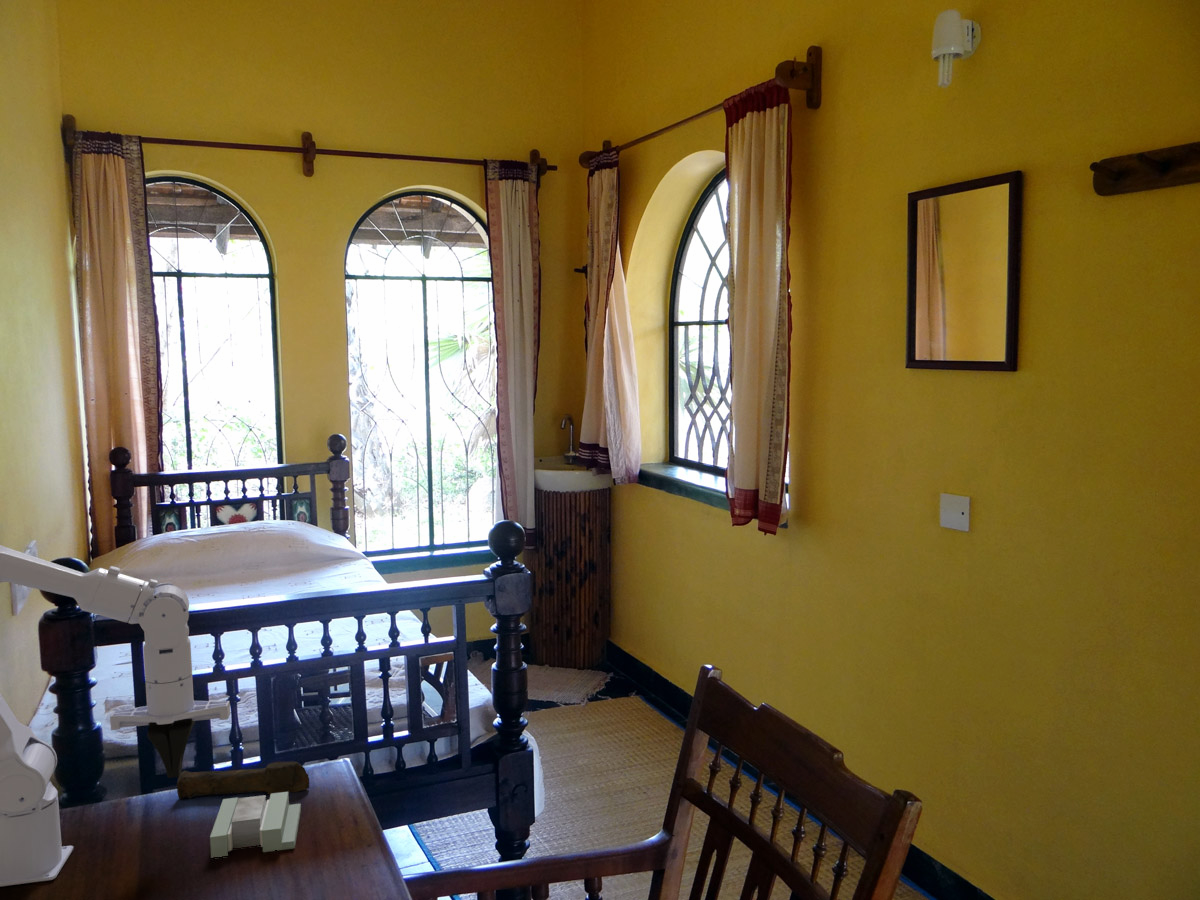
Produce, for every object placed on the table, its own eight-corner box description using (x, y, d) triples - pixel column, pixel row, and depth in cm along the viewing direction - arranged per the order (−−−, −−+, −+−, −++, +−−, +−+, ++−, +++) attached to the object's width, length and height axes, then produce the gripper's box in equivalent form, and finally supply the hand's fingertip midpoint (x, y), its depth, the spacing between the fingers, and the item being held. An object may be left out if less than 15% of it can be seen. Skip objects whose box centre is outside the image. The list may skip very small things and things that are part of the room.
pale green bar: (259, 852, 124) (258, 831, 124) (268, 813, 135) (267, 794, 135) (294, 848, 125) (293, 826, 125) (300, 810, 136) (299, 790, 136)
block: (233, 850, 125) (231, 821, 125) (240, 825, 132) (238, 798, 132) (261, 846, 126) (259, 818, 126) (267, 822, 133) (265, 795, 132)
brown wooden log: (174, 804, 139) (173, 773, 138) (185, 791, 143) (183, 762, 142) (304, 800, 140) (302, 769, 139) (311, 787, 144) (310, 758, 143)
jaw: (211, 858, 123) (210, 837, 123) (224, 819, 133) (223, 799, 133) (230, 856, 123) (229, 834, 123) (242, 817, 134) (241, 797, 134)
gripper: (100, 691, 120) (107, 793, 121) (221, 681, 123) (227, 780, 124) (116, 673, 127) (122, 770, 128) (230, 664, 130) (235, 759, 131)
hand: (174, 774), depth 127 cm, fingers closed
